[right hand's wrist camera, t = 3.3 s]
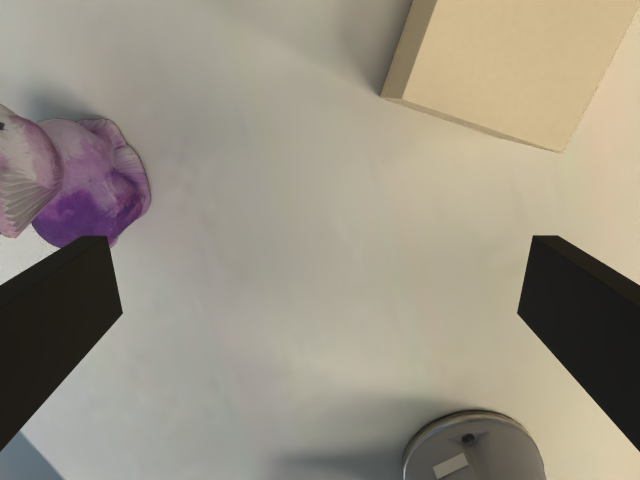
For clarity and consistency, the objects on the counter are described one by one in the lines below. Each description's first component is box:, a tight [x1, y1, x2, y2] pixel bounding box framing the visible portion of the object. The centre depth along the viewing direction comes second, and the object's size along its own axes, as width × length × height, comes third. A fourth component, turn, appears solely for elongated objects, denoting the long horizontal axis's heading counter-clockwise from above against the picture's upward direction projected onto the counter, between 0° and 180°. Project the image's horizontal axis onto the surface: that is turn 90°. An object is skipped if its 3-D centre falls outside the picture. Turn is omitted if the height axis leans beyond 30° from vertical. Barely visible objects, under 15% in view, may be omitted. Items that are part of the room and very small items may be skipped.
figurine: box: [0, 104, 150, 248], centre depth 27 cm, size 9×10×15 cm
